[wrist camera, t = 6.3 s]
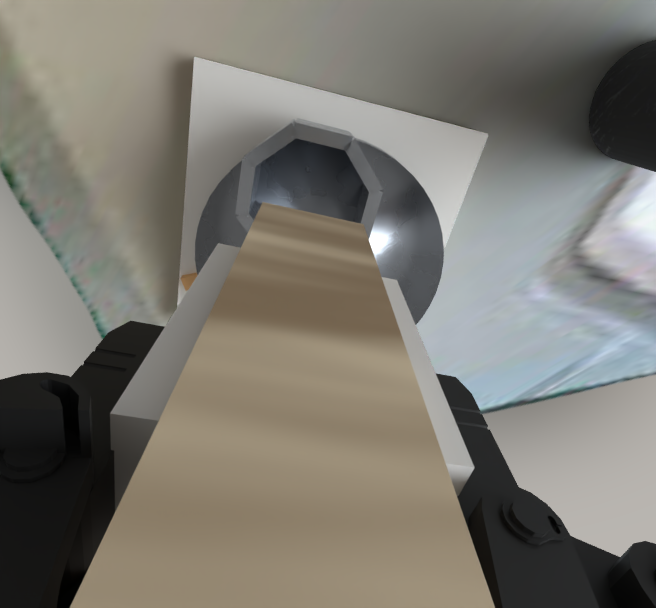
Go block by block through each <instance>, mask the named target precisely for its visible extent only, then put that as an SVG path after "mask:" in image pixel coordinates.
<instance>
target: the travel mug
mask: <svg viewBox="0 0 656 608" xmlns="http://www.w3.org/2000/svg"><path fill="white" fill-rule="evenodd" d="M589 123H590V131H591V135H592V138H593V140H594V142H595V144H596V145H597V147H598V148H599V149H600V150H601V151H602V152H603V153H605V154H606V155H607V156H609V157H611V158H614V159H616V160H619V161H622V162H625V163H628V164H631V165H635V166H638V167H641V168H644V169H648V170H651V171H654V172H656V40H654V41H651V42H648V43H646V44H643V45H641V46H639V47H637V48H636V49H634V50H632V51H630V52H629V53H628V54H626V55H625V56H624V57H622V58H621V59H620V60H619V61H618V62H617V63H616V64H615V65H614V66H613V67H612V68H611V69H610V70H609V72H608V73H607V74H606V76H605V77H604V79H603V80H602V82H601V83H600V85H599V87H598V89H597V91H596V93H595V96H594V98H593V102H592V105H591V110H590V121H589Z"/></svg>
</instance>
